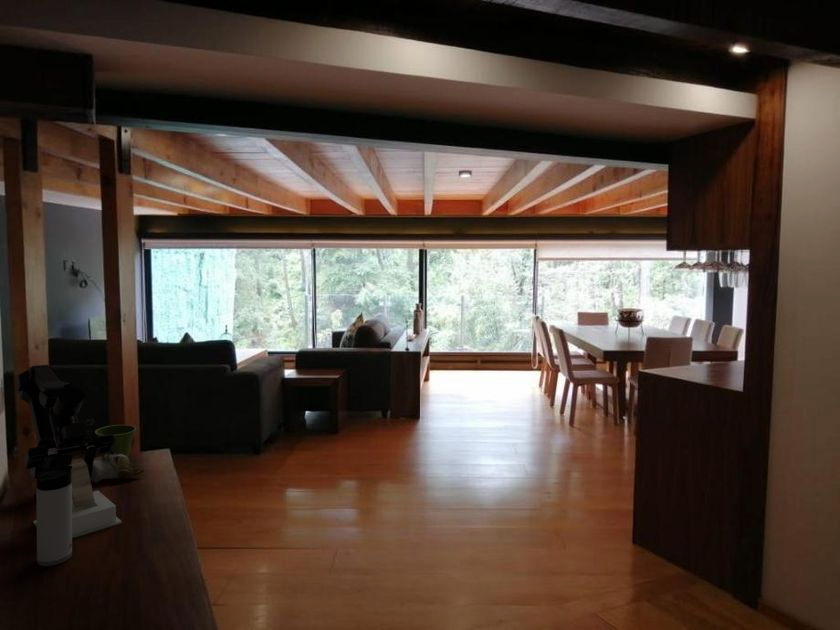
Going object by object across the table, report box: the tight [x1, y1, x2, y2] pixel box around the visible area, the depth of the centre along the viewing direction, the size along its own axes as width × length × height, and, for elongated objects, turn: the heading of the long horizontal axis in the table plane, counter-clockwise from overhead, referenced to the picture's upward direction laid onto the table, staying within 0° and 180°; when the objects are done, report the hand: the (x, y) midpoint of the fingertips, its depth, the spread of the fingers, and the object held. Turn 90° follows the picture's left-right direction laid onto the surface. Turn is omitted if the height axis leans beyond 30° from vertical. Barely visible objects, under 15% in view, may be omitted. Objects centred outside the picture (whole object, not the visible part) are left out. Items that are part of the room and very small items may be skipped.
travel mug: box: [35, 465, 73, 567], centre depth 111 cm, size 6×7×20 cm
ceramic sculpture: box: [90, 452, 145, 484], centre depth 156 cm, size 11×9×15 cm
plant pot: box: [94, 424, 137, 459], centre depth 168 cm, size 12×12×11 cm
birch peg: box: [70, 459, 95, 508], centre depth 127 cm, size 4×4×10 cm
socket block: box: [33, 490, 123, 539], centre depth 127 cm, size 15×15×5 cm
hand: (79, 480), depth 126 cm, fingers closed on birch peg, 4 cm apart
